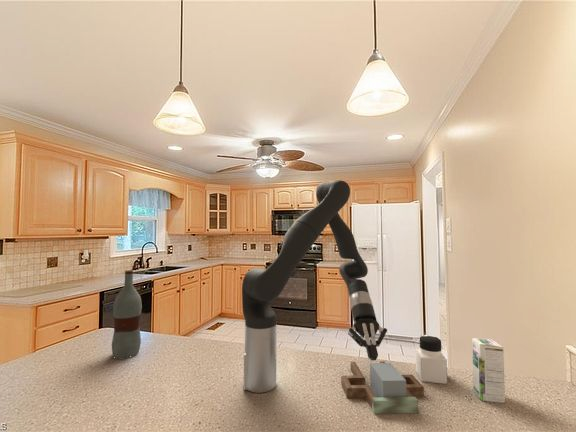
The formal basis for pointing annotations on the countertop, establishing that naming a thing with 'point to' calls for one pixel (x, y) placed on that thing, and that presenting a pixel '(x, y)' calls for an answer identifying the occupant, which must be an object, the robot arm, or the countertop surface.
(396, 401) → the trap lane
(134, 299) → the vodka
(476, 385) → the syrup box
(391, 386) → the slate block
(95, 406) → the countertop surface
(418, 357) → the medicine bottle
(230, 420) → the countertop surface
